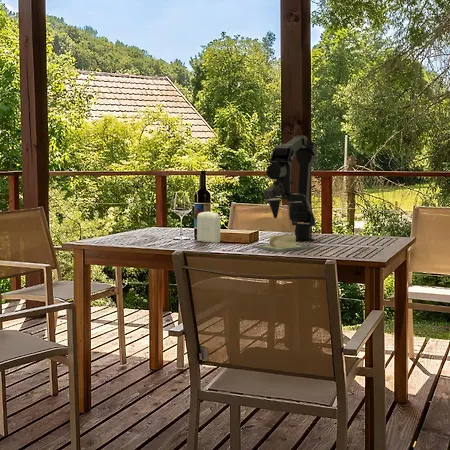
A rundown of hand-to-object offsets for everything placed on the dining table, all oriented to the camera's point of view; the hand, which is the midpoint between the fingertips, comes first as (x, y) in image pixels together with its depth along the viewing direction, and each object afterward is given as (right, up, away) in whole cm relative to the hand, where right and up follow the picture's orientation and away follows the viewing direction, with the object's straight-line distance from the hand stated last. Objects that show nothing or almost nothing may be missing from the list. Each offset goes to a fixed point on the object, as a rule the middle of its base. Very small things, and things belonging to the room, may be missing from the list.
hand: (283, 219), depth 268 cm
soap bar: (-29, -9, +18) cm, 35 cm away
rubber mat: (0, -11, 0) cm, 11 cm away
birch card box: (0, -10, 0) cm, 10 cm away
